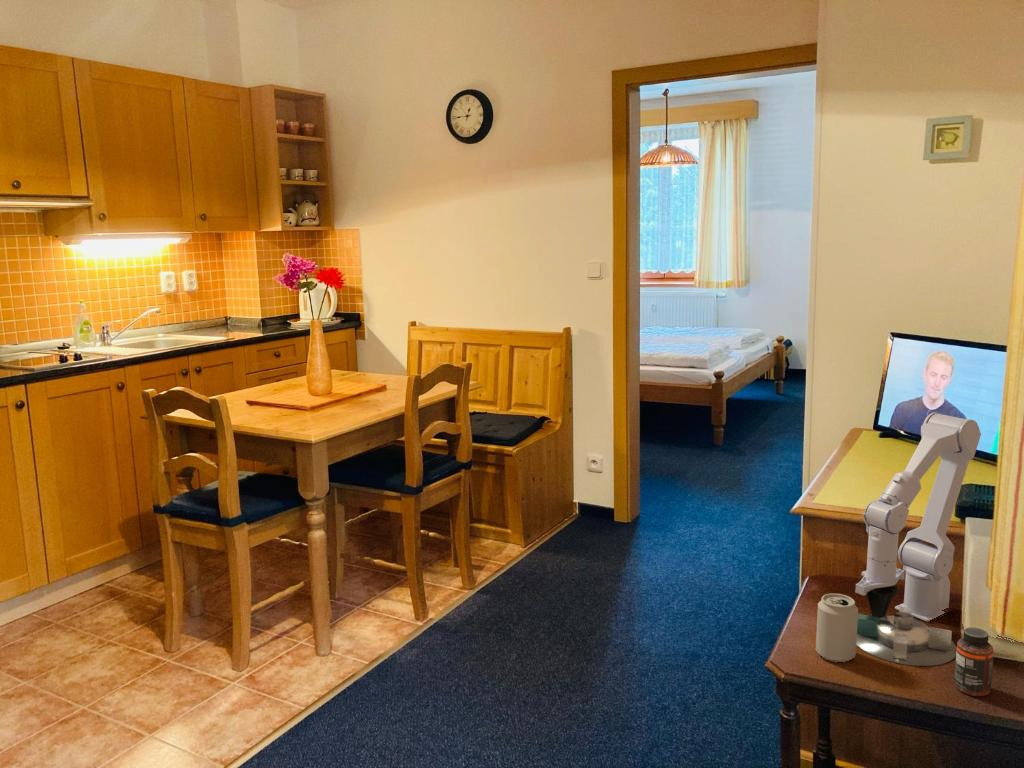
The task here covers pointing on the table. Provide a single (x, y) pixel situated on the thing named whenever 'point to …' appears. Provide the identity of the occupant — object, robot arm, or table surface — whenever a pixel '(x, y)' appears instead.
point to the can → (836, 628)
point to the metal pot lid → (904, 634)
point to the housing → (913, 658)
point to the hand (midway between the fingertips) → (878, 617)
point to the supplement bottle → (974, 663)
